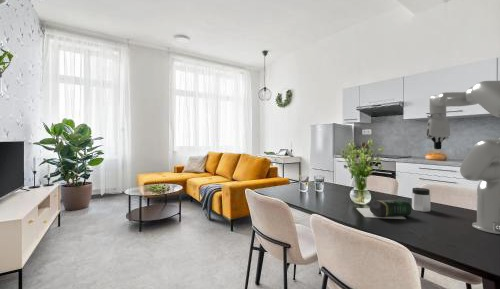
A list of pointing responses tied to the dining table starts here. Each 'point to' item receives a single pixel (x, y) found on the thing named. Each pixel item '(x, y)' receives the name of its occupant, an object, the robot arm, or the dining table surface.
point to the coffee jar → (390, 208)
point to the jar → (421, 199)
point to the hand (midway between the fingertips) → (437, 149)
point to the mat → (369, 214)
